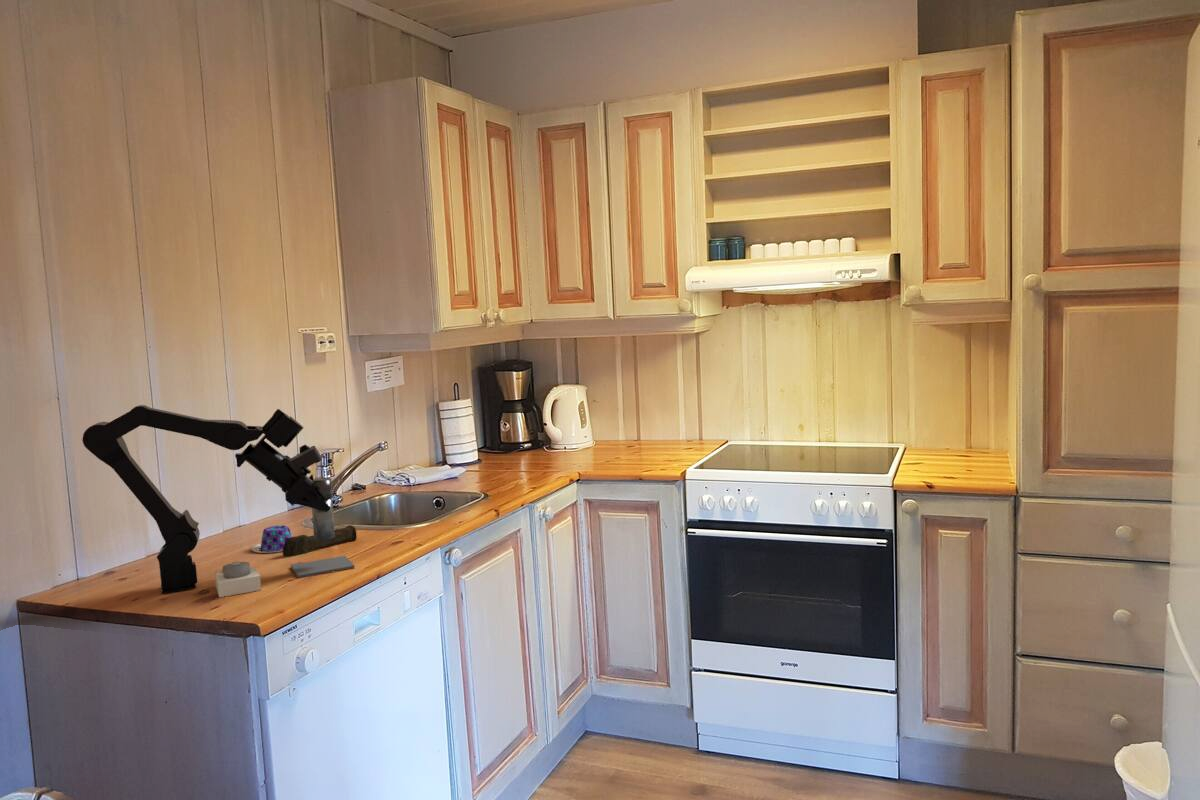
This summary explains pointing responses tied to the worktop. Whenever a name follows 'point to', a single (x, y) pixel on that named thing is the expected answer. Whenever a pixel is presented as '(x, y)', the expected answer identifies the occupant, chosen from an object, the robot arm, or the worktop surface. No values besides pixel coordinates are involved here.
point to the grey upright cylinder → (323, 519)
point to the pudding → (273, 539)
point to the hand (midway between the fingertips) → (328, 507)
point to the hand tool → (316, 541)
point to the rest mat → (321, 566)
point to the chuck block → (237, 579)
